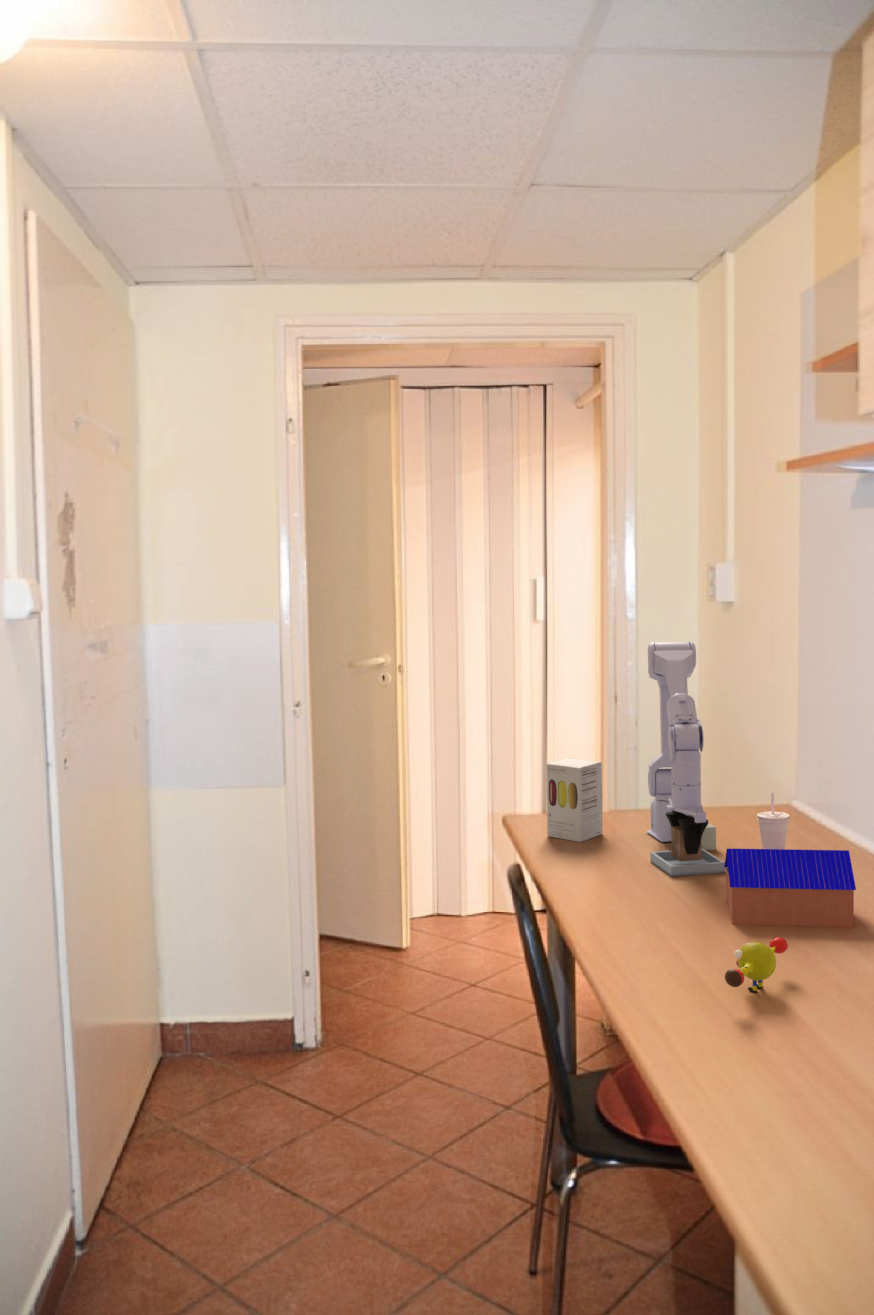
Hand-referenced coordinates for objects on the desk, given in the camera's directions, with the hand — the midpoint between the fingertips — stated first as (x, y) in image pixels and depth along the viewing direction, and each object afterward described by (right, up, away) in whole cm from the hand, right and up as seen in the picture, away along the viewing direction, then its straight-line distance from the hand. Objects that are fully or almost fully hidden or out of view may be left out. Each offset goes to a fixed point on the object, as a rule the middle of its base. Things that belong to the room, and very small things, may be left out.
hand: (686, 850), depth 213 cm
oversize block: (+6, -2, +15) cm, 17 cm away
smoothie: (+18, -3, +2) cm, 18 cm away
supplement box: (-19, -2, +29) cm, 34 cm away
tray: (0, -3, 0) cm, 3 cm away
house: (+10, -6, -30) cm, 33 cm away
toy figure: (-5, -9, -62) cm, 63 cm away
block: (0, -2, 0) cm, 2 cm away
